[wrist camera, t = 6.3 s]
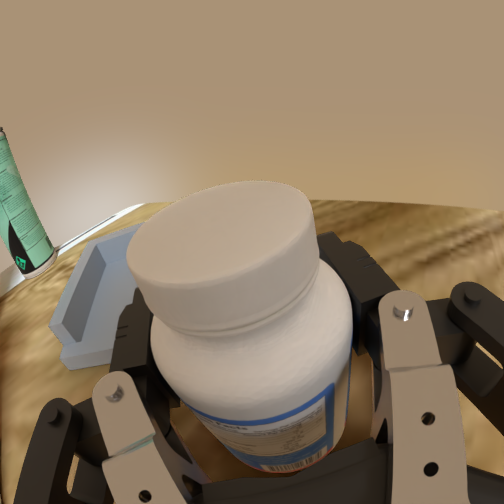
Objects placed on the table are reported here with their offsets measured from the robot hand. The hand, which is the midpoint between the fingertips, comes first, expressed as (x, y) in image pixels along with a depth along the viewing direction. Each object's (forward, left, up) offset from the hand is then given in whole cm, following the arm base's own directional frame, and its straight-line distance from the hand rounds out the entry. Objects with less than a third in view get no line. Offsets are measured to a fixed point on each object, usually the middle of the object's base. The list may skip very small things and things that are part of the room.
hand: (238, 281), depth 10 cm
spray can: (+24, -21, -6) cm, 33 cm away
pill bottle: (0, +3, -6) cm, 7 cm away
